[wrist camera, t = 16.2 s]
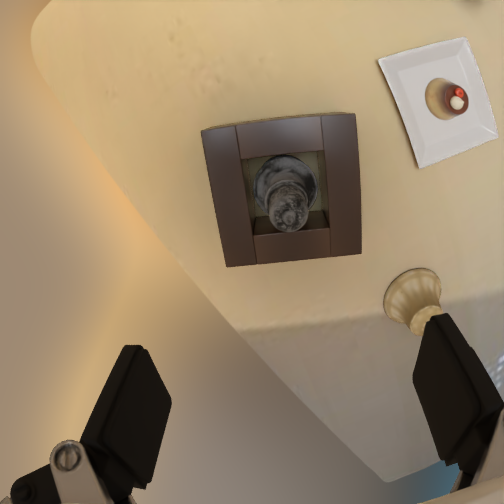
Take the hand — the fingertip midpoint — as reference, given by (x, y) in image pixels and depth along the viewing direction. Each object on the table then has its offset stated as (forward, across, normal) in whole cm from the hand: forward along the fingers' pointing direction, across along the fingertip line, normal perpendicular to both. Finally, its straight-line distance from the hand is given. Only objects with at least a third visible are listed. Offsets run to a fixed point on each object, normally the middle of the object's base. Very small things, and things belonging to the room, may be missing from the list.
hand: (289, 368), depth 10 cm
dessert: (+24, -19, -8) cm, 32 cm away
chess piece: (+25, -1, 0) cm, 25 cm away
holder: (+24, -1, 0) cm, 24 cm away
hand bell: (+24, -16, +16) cm, 33 cm away
